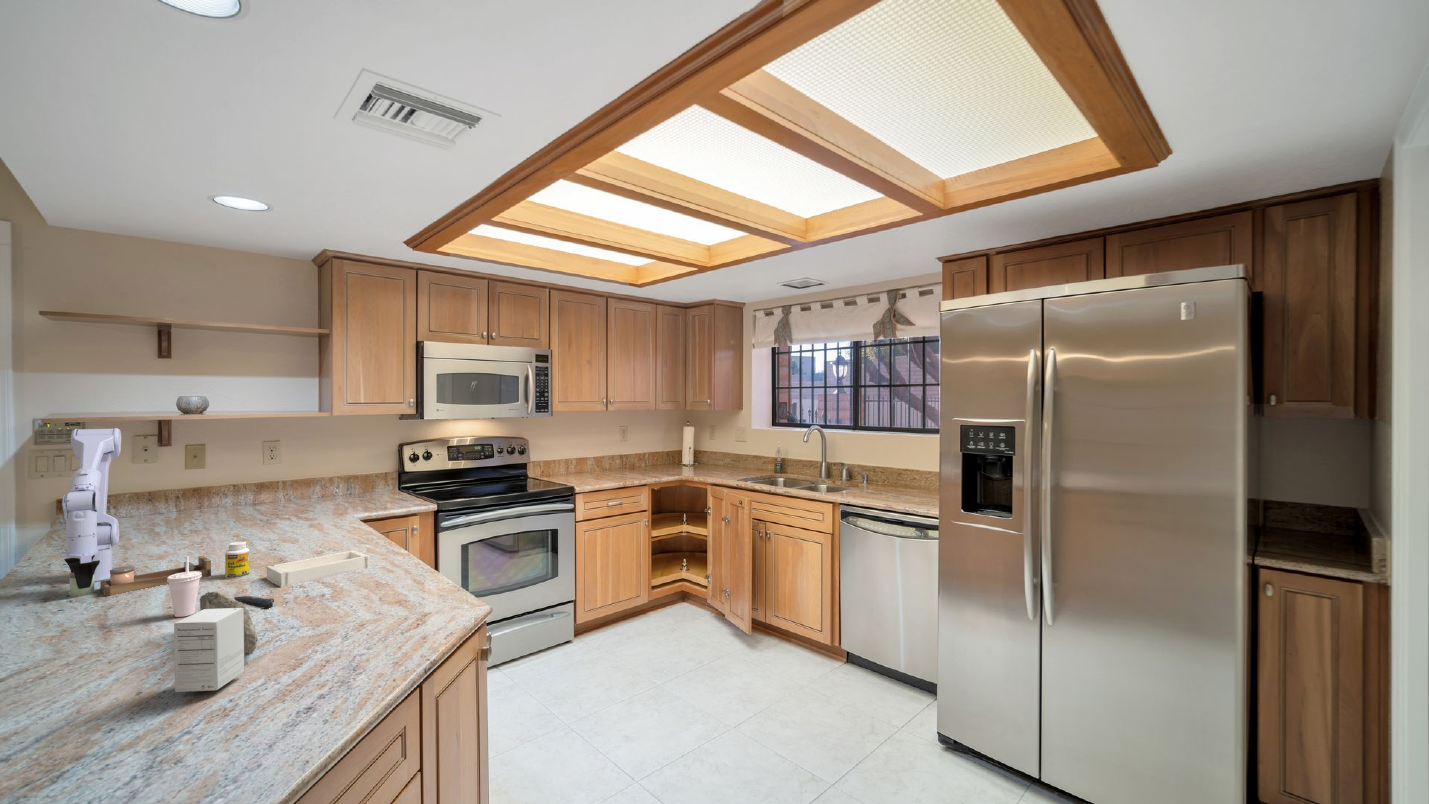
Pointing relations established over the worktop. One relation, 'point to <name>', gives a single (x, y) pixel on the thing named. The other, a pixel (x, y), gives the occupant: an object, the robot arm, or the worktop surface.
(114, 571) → the jar stock
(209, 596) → the elongated rock
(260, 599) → the dark grey elongated piece
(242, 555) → the supplement bottle
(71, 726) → the worktop surface
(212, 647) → the supplement box
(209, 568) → the lane
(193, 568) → the pusher
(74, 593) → the jar
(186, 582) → the smoothie
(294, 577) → the utensil tray
